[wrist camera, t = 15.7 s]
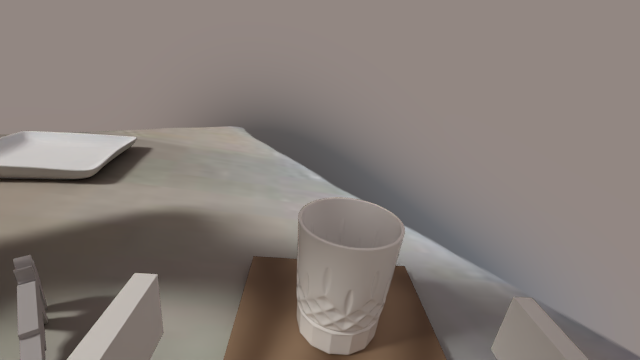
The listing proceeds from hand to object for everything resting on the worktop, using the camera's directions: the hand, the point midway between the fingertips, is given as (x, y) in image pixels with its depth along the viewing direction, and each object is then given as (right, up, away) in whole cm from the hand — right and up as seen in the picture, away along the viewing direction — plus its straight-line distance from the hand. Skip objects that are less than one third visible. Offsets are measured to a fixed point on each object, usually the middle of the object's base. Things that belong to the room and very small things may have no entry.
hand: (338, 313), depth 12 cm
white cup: (+1, -7, +15) cm, 17 cm away
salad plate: (-48, +8, +45) cm, 66 cm away
